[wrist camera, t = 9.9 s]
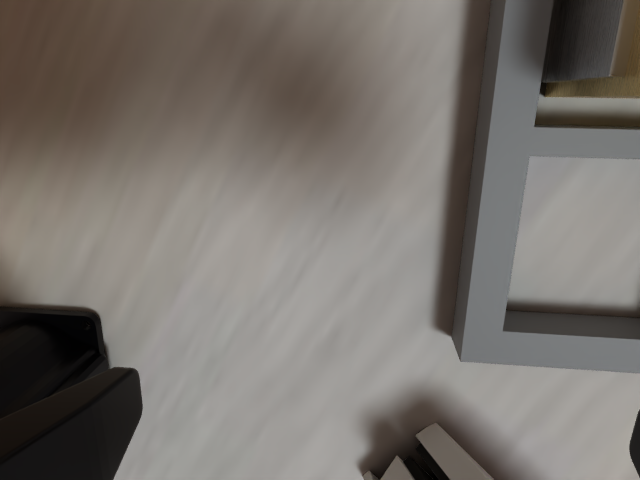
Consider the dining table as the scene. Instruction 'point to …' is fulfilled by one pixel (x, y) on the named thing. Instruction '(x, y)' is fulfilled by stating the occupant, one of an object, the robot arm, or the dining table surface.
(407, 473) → the grey arched block
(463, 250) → the gray rectangular tray
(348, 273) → the dining table surface
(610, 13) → the metal-backed wooden cube
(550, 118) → the dining table surface
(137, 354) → the dining table surface
